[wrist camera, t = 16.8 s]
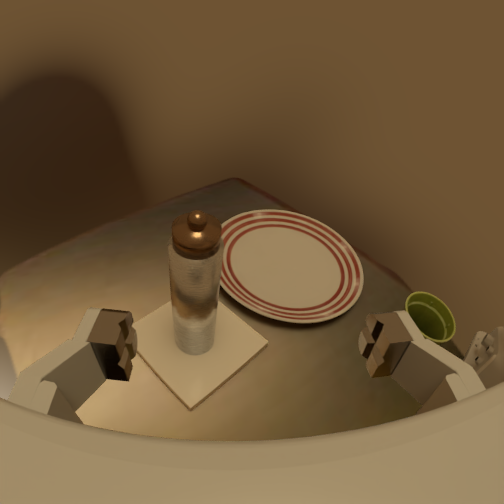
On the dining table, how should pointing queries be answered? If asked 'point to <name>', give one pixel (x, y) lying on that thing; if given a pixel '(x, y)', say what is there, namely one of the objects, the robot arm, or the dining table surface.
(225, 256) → the dinner plate
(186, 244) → the pepper mill
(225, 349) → the serving tile
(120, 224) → the dining table surface
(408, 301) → the plant pot
